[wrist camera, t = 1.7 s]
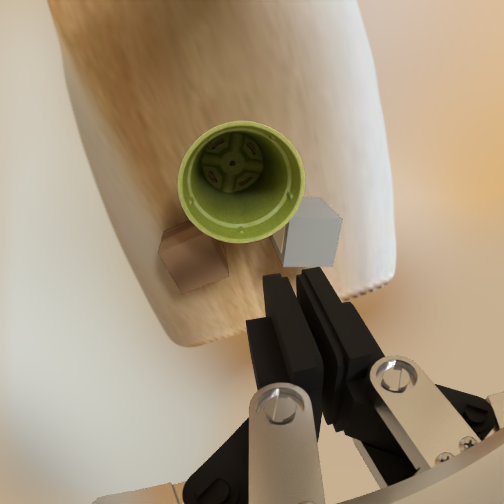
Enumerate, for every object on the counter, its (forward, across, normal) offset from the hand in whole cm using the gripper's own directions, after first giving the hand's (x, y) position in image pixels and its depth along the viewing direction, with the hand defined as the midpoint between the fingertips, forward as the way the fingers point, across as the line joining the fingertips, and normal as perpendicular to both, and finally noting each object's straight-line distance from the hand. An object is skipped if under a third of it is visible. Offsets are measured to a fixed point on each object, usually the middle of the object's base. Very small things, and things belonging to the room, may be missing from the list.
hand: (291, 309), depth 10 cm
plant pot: (+23, 0, 0) cm, 23 cm away
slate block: (+23, -6, +7) cm, 25 cm away
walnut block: (+23, +5, +8) cm, 25 cm away
